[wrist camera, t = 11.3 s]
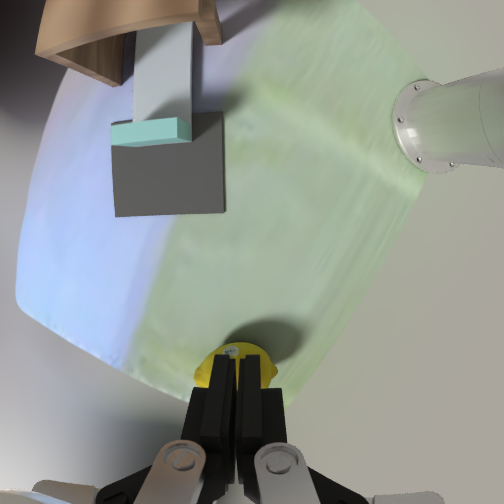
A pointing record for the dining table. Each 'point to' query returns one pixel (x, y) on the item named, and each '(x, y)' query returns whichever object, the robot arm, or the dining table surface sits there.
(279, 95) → the dining table surface
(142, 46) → the sled
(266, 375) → the lemon
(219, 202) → the mat
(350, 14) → the dining table surface
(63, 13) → the tunnel
